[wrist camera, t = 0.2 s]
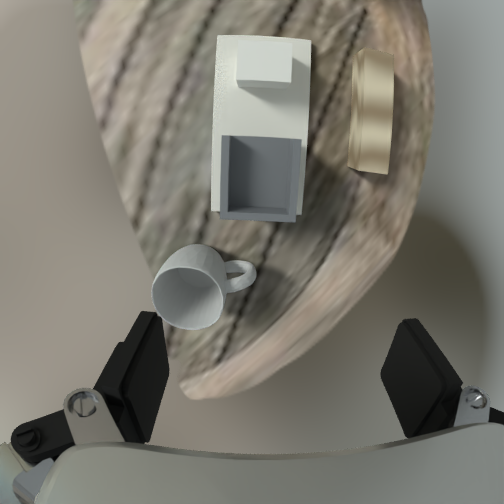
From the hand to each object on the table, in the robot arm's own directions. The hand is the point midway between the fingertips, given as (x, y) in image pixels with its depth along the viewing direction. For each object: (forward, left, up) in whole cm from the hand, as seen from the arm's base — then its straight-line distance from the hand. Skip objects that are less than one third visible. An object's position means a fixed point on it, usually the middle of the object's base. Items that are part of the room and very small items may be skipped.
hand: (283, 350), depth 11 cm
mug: (+10, -7, -31) cm, 33 cm away
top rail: (-13, +13, -31) cm, 36 cm away
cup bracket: (-11, -1, -31) cm, 32 cm away
